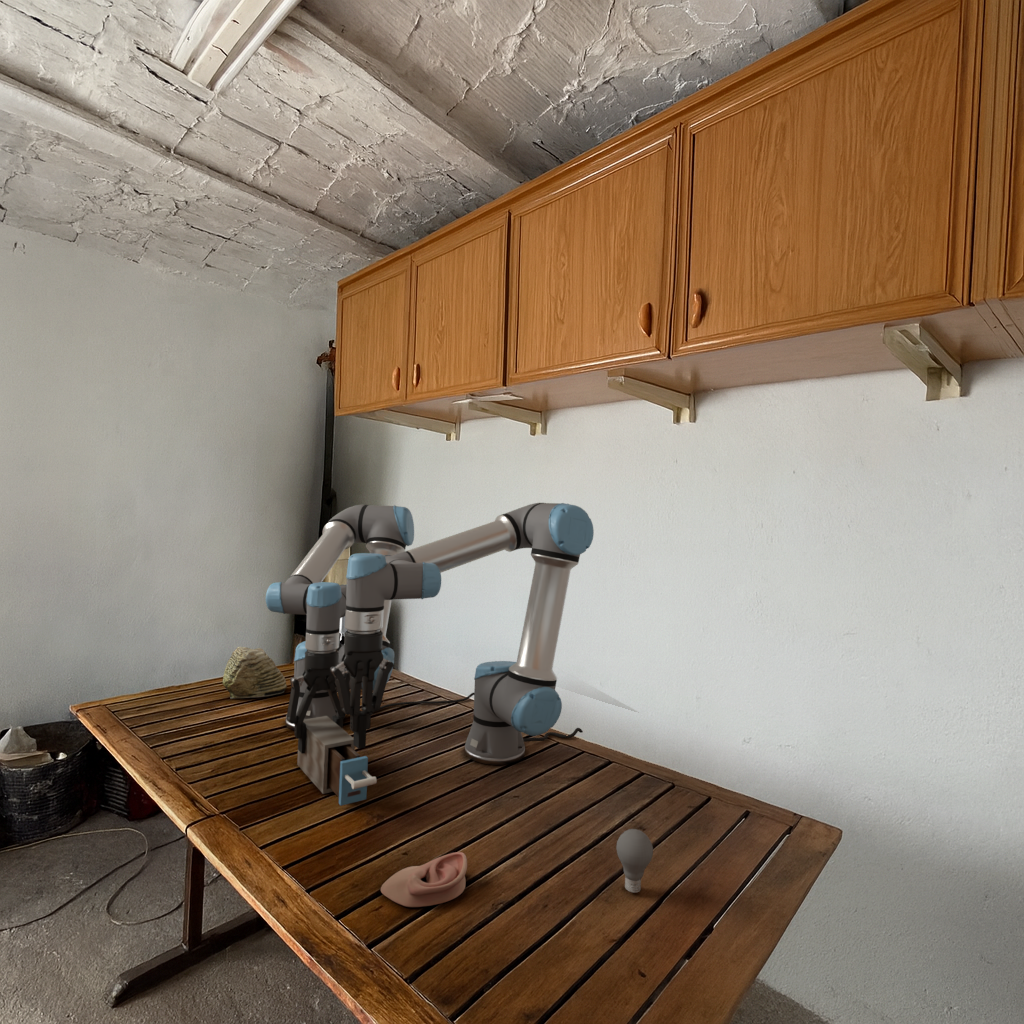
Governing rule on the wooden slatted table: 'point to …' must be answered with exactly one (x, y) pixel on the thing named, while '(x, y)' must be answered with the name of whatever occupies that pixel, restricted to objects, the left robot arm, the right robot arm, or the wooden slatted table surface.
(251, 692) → the fossil
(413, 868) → the anatomical model
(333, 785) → the drawer
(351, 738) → the cabinet
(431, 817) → the wooden slatted table surface
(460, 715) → the wooden slatted table surface
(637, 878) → the light bulb
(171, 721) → the wooden slatted table surface
